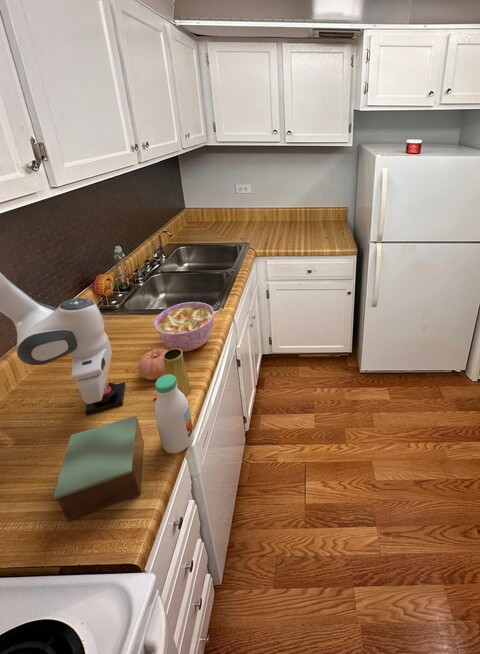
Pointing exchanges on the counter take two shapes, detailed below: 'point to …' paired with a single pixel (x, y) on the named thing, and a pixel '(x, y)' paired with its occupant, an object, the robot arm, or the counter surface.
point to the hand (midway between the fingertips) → (104, 390)
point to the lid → (97, 456)
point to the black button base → (108, 399)
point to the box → (107, 488)
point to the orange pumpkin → (153, 364)
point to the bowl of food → (185, 325)
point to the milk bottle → (172, 415)
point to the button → (108, 391)
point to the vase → (177, 369)
